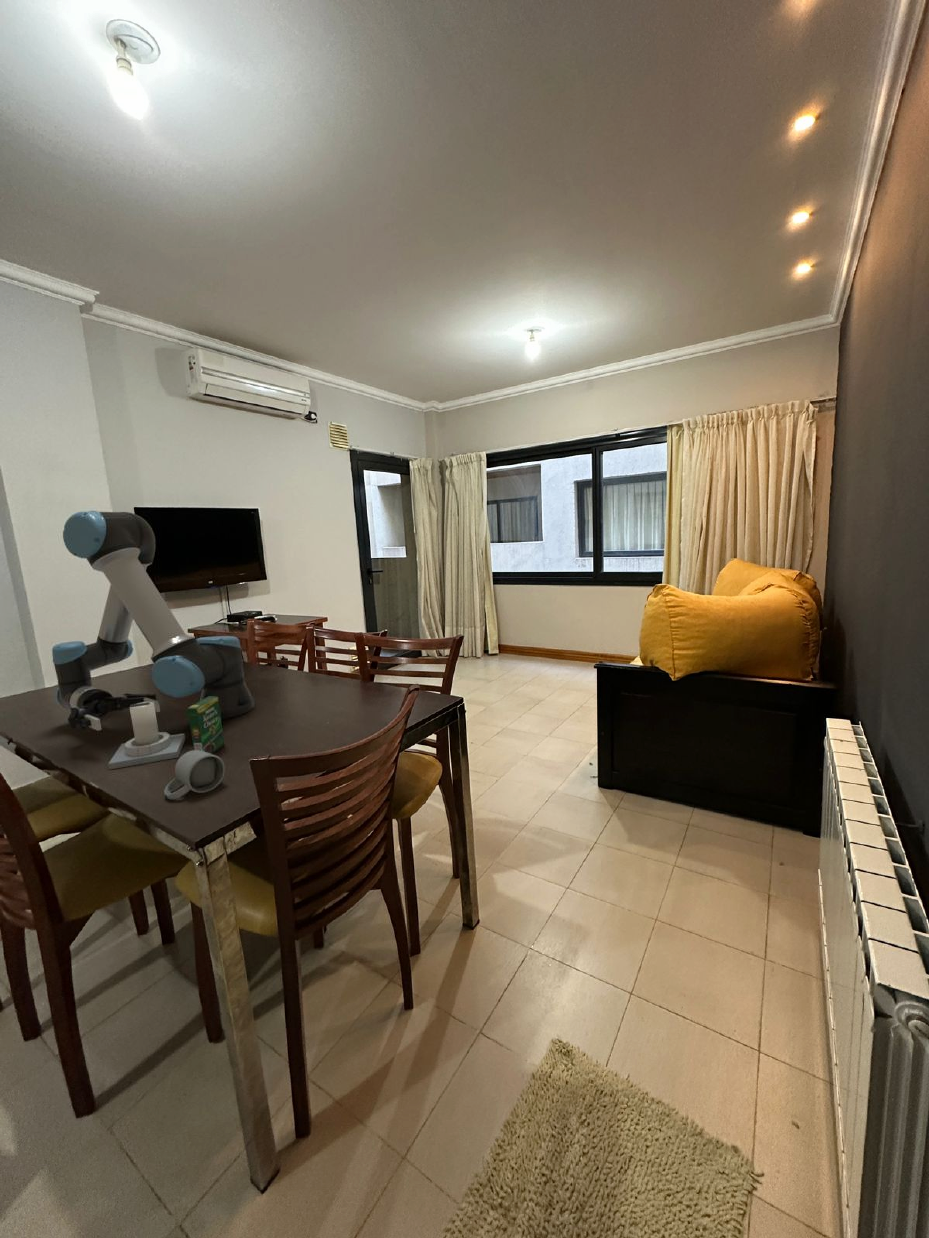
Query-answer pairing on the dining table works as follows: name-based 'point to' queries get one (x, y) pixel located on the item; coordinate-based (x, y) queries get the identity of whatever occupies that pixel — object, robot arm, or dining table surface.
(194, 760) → the ceramic mug
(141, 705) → the grey cylindrical peg
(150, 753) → the hub
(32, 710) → the dining table surface
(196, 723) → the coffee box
